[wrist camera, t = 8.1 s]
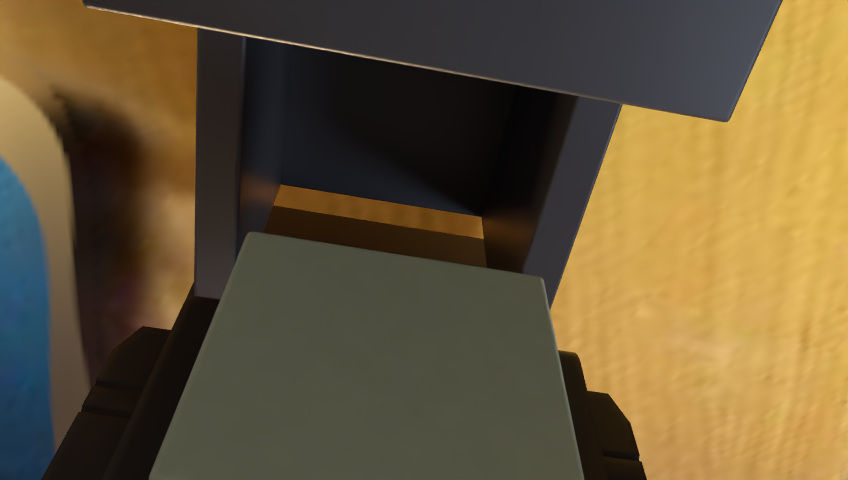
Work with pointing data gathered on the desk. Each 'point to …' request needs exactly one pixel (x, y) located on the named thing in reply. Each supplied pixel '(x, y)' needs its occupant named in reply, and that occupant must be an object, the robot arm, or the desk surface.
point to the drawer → (387, 156)
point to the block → (372, 373)
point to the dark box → (519, 41)
